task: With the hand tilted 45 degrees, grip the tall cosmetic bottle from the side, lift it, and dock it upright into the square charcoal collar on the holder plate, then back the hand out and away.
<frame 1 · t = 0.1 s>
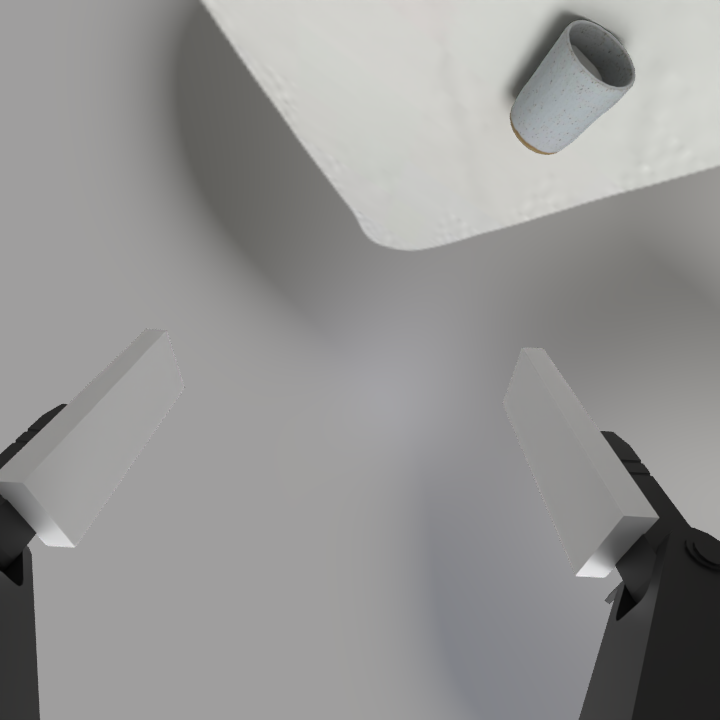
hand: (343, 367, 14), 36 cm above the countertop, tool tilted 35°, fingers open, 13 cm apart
ceramic mug: (573, 69, 36), on the countertop
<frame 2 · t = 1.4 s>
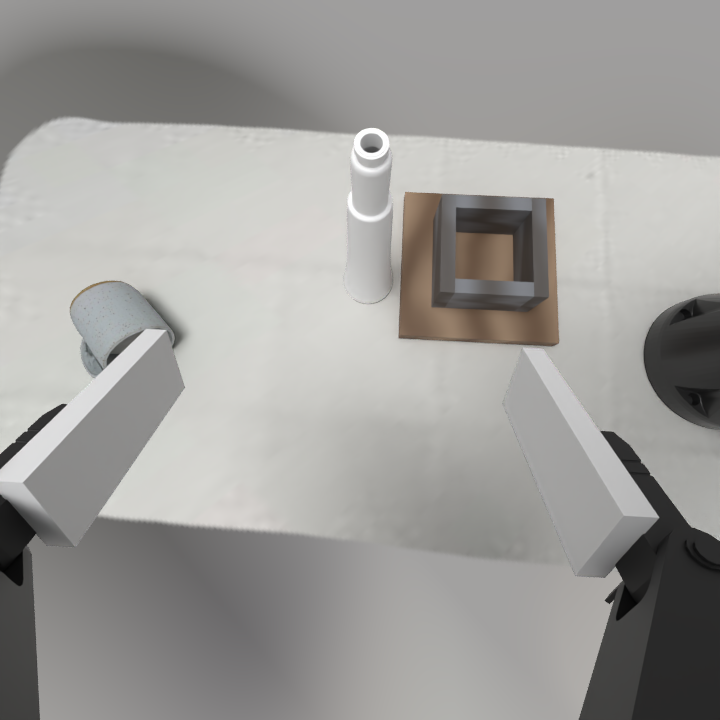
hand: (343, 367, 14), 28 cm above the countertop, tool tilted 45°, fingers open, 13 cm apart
bottle holder: (475, 269, 44), on the countertop
ceramic mug: (136, 344, 43), on the countertop
cosmetic bottle: (367, 281, 44), on the countertop
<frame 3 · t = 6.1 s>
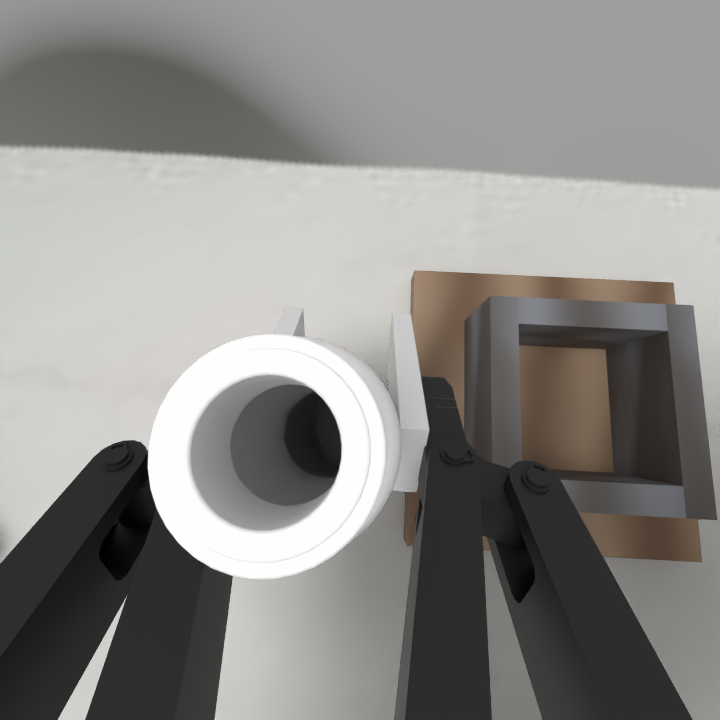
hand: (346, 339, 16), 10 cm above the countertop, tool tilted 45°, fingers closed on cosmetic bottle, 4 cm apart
bottle holder: (537, 407, 25), on the countertop
cosmetic bottle: (349, 426, 25), on the countertop, touching gripper
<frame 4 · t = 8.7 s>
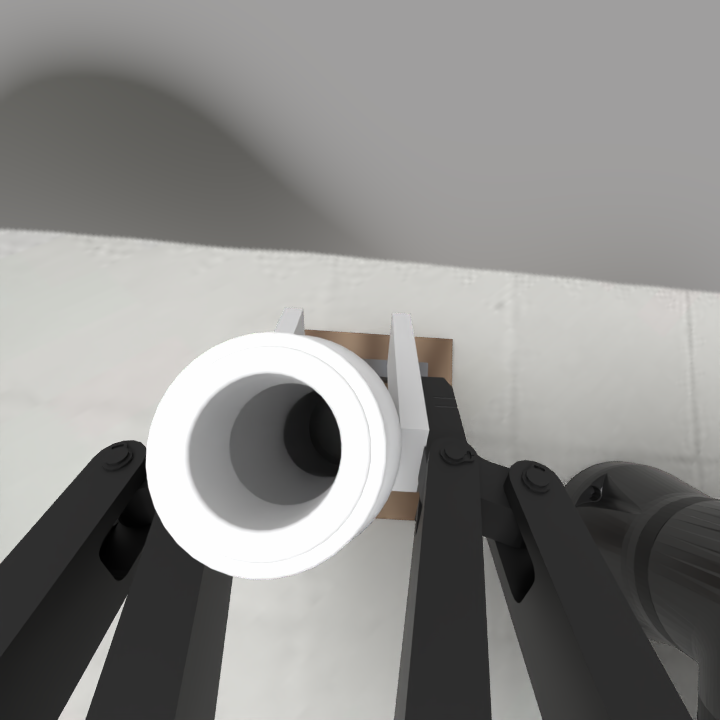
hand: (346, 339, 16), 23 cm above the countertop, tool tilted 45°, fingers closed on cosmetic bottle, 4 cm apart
bottle holder: (360, 421, 37), on the countertop
cosmetic bottle: (348, 426, 25), point 12 cm above the countertop, touching gripper
when the fingers open (13 cm above the countertop, at t = 11.4 s): cosmetic bottle drops 1 cm, resting on bottle holder.
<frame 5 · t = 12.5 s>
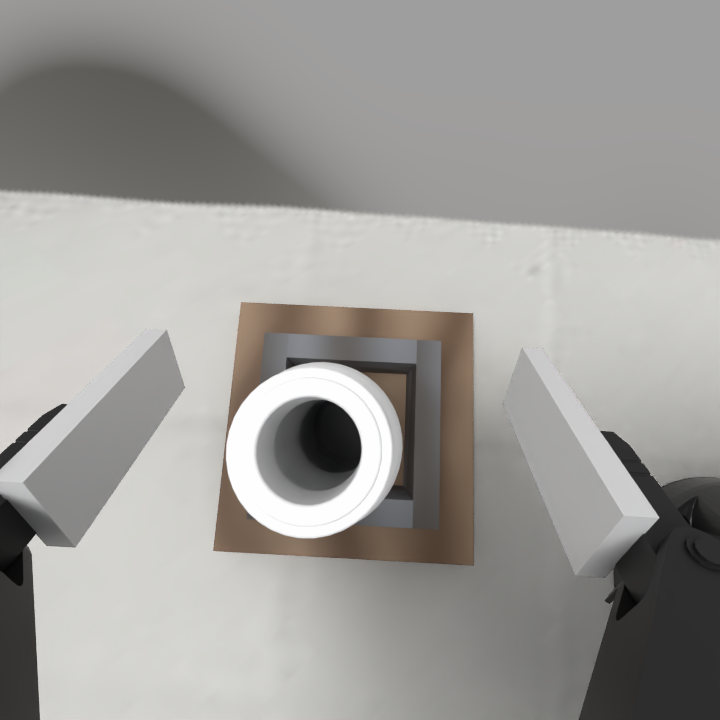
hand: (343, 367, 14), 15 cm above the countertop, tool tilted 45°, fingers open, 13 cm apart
bottle holder: (350, 425, 28), on the countertop
cosmetic bottle: (350, 426, 27), point 1 cm above the countertop, touching bottle holder
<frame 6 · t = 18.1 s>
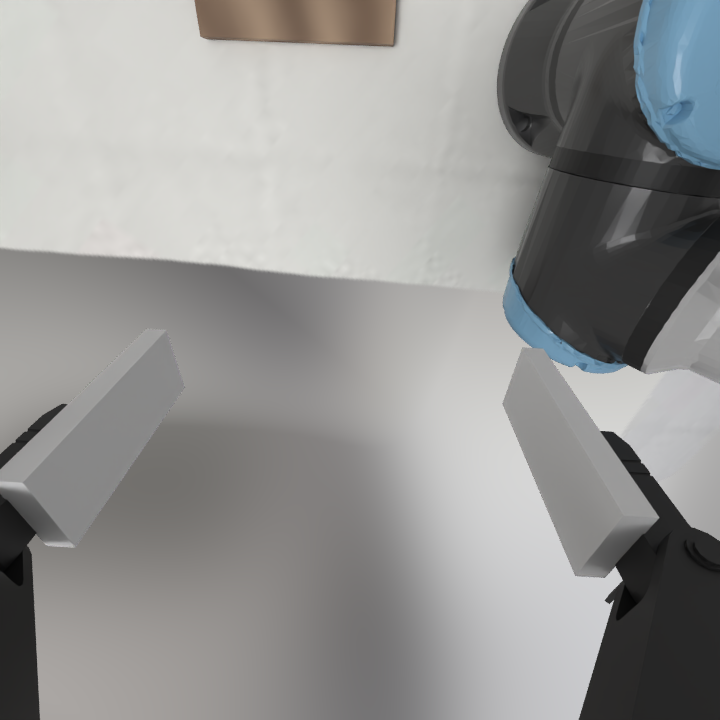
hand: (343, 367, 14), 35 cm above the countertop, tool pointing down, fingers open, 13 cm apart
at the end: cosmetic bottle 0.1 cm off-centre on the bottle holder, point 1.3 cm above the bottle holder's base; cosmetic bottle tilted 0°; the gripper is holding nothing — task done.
